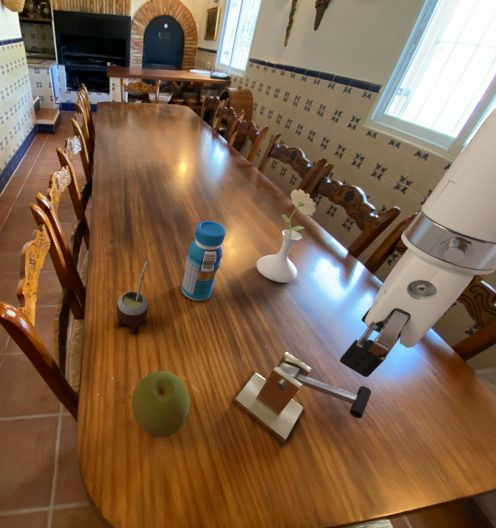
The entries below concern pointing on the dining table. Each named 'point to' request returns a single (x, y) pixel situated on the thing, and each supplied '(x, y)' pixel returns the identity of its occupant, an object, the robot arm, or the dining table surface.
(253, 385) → the bracket
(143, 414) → the apple
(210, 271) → the beverage bottle
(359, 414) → the lever
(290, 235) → the flower in vase
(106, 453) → the dining table surface
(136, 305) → the mate gourd
